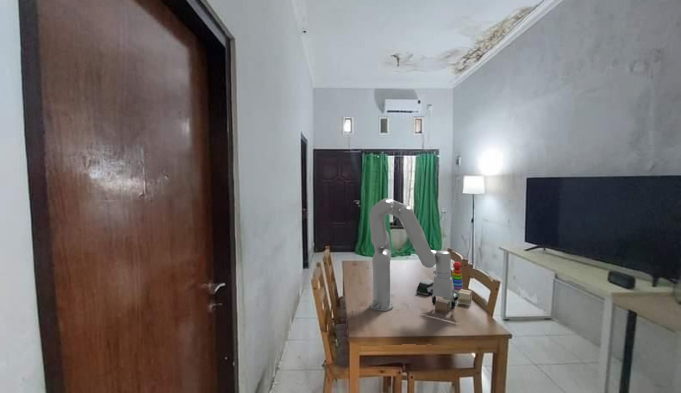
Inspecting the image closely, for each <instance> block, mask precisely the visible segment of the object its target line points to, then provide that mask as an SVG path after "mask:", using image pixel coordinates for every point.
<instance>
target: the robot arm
mask: <svg viewBox="0 0 681 393" xmlns="http://www.w3.org/2000/svg"><path fill="white" fill-rule="evenodd" d="M414 212H415V211H414V209H413V208H412V207H411V206H410V205H407V204H404V203H401V202H399V201H396V200H394V199H391V198H388V197H385V198H383V199H381V200H379V201H378V202H377V203H375V204H374V205H373V206H372V207H371V210H370V212H369V224H370V226H369V227H370V228H369V229H370V237H371V239H370V240H371V244H372V246H373V248H374V249H373V250H374V254H373V256H372V259H371V261H372V262H371V263H372V266H371V267H372V301H371V302H370V303H369V308H370V309H372V310H374V311H378V312H388V311H391V310H392V309H393V307H394V304H393V303H392V302H391V258H392V247H391V246H392V245H391V241H390V240H391V238H390V233H389V231H387V227H386V226H387V224H386V216H387V215H390V216H392V217H395V218H398V219H399V221H400V223H401V225H402V227H403V229H404V231H405V233H406V236H407V237H408V240H409V241H410V244H411V245H412V248H413V249H414V252H415V253H416V256H417V257H418V259H419V261H420V263H421V264H422V266H424V267H425V268H428V269H431V268H433V267H434V266H435V270H433V271H432V273H433V274H434V275H435V276H433V279H432V280H433V286H432V287H429V288H427V290H428V292H429V294H430V295H431V296H430V297H431V303H432V306H435V301H436V300H437V297H439V298H440V297H441V298H443V297H445V298H450V299H451V300H452V302H451V307H450V310H454V309H455V308H454V307H455V301H456V300H457V301H458V298H459V297H460V295H461V294H460V293H459V292H457V291H456V290H454V286H453V280H452V272H451V271H452V270H451V268H452V266H451V253H450V252H449V251H447V250H432V249H431V247H430V246H429V242H428V241H427V238H426V235H425V232H424V230H423V227H422V226H421V224H420V222H419V220H418V218H417V216H416V214H415V213H414ZM431 289H433V293H432V291H431ZM454 293H455V294H456V295H457V296H456V297H454V296H453V295H454Z"/></svg>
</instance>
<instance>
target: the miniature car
mask: <svg viewBox="0 0 681 393" xmlns="http://www.w3.org/2000/svg"><path fill="white" fill-rule="evenodd" d="M433 280H434V279H429V278H425V279H423V280H421V281H419V284H418V285H417V287H416V290H415V291H416V294H418V295H419V294H422V295H424V296H427V297H431V295H430V294H429V292H428V290H427V288H429V287H432V286H433ZM431 291H432V293H433V289H431Z"/></svg>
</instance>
